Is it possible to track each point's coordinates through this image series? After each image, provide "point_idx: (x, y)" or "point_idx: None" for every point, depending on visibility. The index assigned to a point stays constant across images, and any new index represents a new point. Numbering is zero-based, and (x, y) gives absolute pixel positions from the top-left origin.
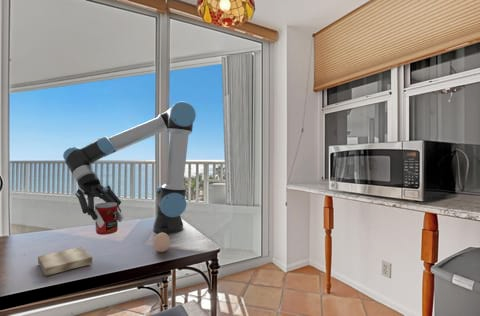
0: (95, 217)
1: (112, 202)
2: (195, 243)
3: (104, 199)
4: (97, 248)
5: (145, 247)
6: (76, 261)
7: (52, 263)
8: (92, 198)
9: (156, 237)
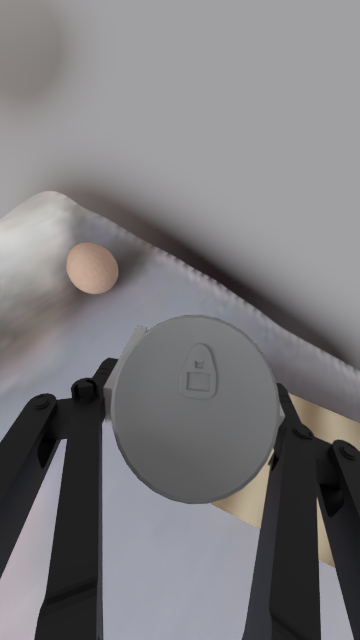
0: (280, 384)
1: (117, 408)
2: (22, 241)
3: (101, 545)
4: (145, 488)
5: (87, 341)
6: (291, 394)
7: None
8: (291, 567)
9: (102, 265)
